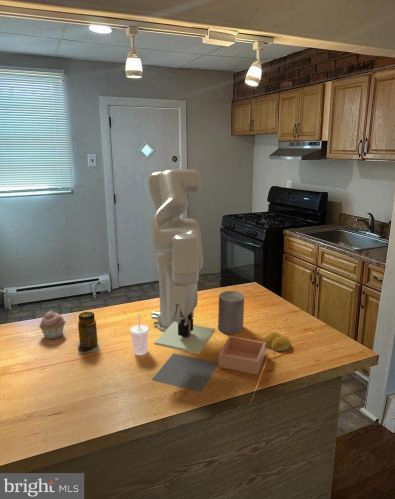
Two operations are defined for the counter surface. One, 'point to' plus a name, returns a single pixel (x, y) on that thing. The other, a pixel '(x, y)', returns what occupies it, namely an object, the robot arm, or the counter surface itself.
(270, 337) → the bread roll
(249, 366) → the open box
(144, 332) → the beverage cup
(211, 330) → the lid
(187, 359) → the mat
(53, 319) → the cupcake
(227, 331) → the pillar candle
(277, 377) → the counter surface
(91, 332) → the condiment
